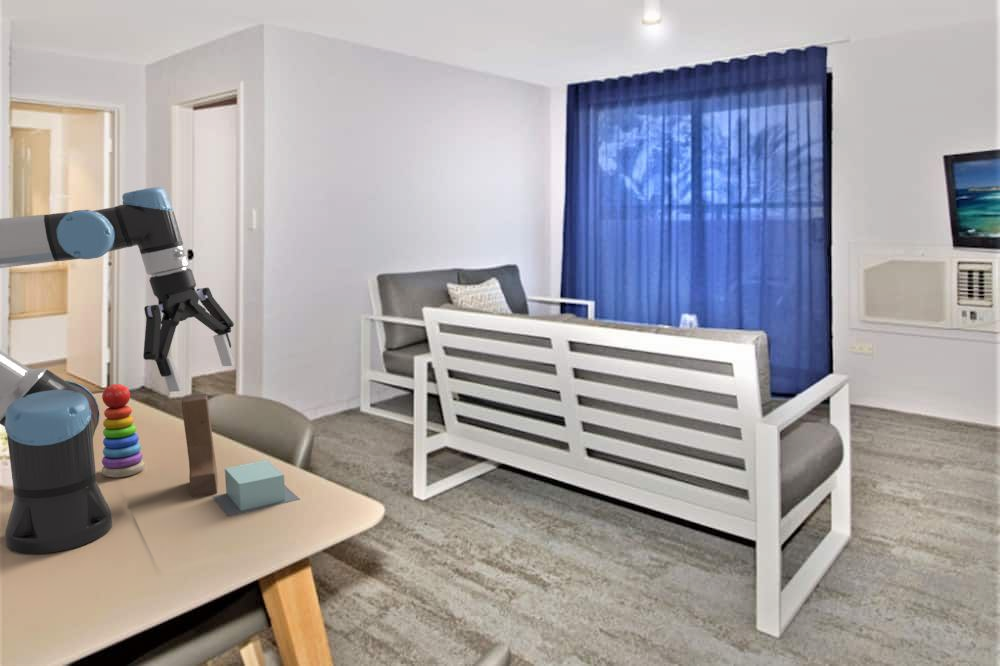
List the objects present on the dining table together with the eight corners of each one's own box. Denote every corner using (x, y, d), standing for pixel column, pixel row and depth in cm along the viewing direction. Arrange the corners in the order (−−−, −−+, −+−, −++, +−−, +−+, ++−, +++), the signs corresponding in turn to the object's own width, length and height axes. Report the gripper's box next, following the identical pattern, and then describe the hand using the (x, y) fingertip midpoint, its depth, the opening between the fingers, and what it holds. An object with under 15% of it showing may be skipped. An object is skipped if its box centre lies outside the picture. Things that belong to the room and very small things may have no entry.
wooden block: (217, 495, 135) (206, 404, 131) (192, 499, 133) (179, 407, 130) (217, 479, 143) (207, 393, 140) (193, 483, 141) (182, 396, 138)
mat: (228, 519, 124) (228, 515, 124) (212, 499, 133) (212, 496, 133) (300, 502, 132) (300, 499, 132) (281, 484, 141) (280, 481, 141)
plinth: (241, 510, 127) (239, 484, 126) (226, 493, 135) (224, 468, 134) (285, 500, 131) (283, 474, 130) (268, 484, 139) (267, 460, 138)
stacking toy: (153, 466, 151) (146, 380, 148) (130, 479, 143) (122, 389, 140) (118, 465, 152) (110, 379, 149) (93, 478, 144) (85, 388, 141)
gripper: (126, 286, 120) (165, 402, 125) (232, 255, 141) (261, 354, 147) (97, 290, 123) (136, 403, 128) (205, 259, 145) (234, 357, 150)
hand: (203, 377), depth 137 cm, fingers open, 13 cm apart
